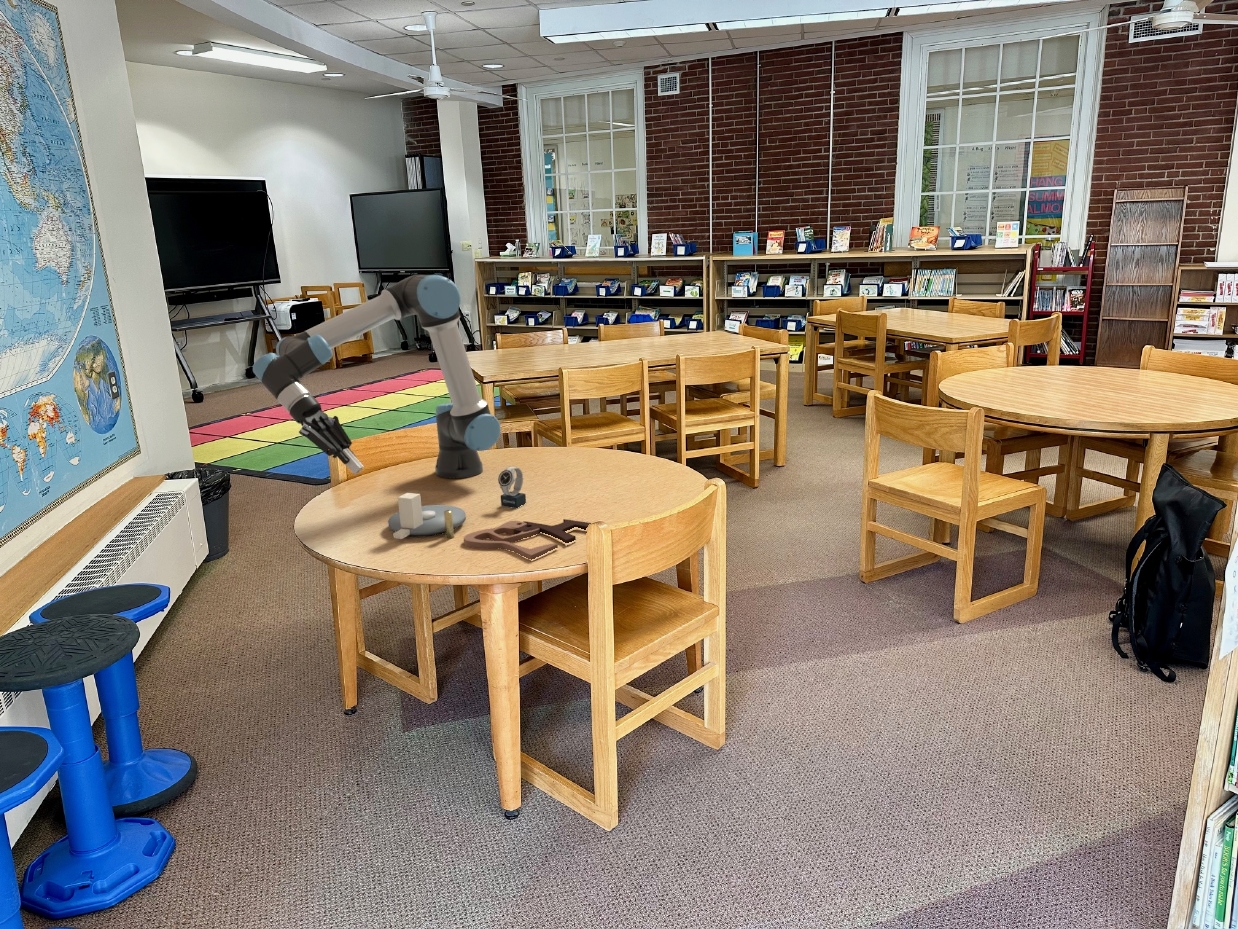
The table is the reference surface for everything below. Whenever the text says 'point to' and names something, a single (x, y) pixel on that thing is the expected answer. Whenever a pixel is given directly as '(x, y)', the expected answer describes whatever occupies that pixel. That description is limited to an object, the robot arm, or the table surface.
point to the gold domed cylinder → (449, 524)
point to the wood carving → (522, 536)
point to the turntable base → (428, 534)
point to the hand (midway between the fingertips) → (359, 470)
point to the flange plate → (431, 522)
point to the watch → (506, 481)
